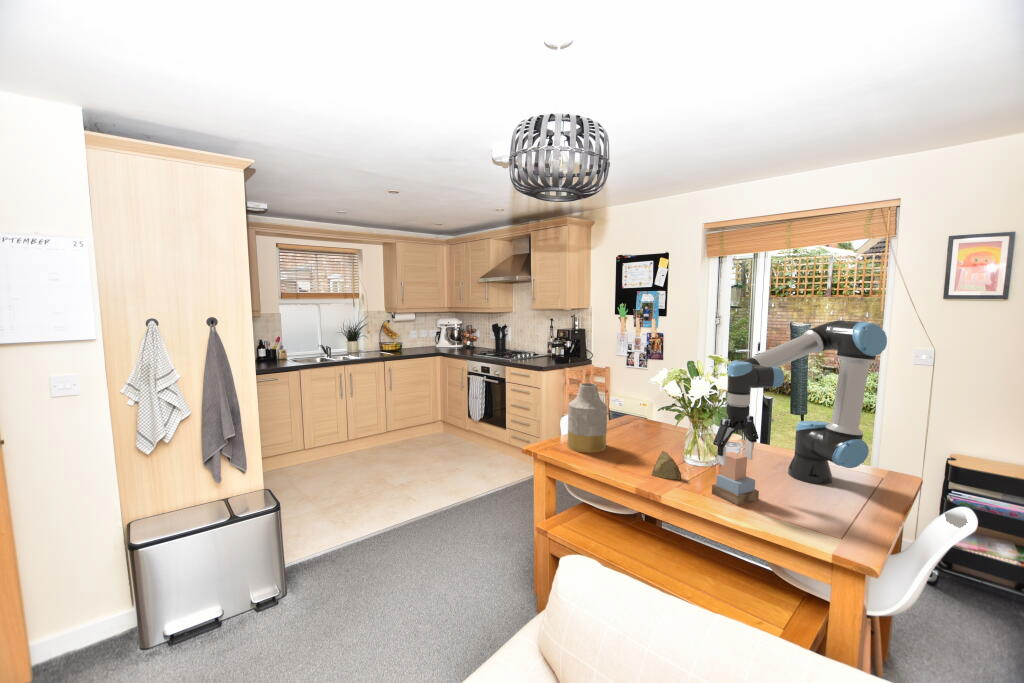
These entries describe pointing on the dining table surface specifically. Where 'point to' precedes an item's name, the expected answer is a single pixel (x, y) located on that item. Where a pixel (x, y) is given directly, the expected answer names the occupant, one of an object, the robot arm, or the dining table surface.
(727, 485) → the tower top
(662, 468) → the rock
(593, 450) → the vase
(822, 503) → the dining table surface
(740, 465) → the block
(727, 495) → the tower base
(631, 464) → the dining table surface
